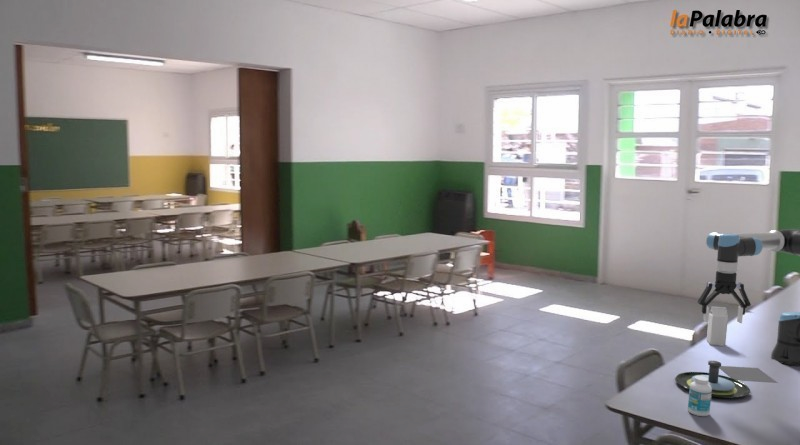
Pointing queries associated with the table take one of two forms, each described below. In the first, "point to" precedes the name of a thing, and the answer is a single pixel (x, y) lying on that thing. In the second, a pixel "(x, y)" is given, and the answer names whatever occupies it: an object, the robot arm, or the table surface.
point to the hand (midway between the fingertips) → (722, 321)
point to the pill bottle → (700, 396)
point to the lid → (717, 378)
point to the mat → (746, 374)
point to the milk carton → (717, 326)
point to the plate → (738, 391)
